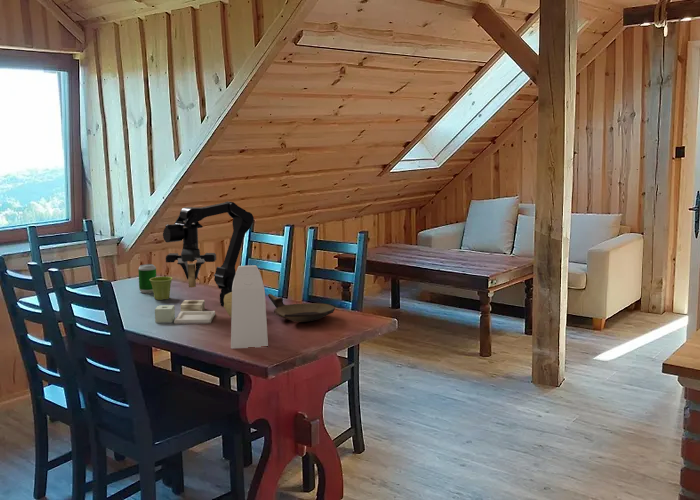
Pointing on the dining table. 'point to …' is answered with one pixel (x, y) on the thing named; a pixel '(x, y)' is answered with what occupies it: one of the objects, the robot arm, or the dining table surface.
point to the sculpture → (228, 303)
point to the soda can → (146, 277)
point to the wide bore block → (193, 305)
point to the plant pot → (161, 287)
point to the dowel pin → (191, 275)
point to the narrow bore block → (164, 313)
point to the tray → (194, 317)
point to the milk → (248, 309)
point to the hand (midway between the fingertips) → (192, 279)
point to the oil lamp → (301, 310)
